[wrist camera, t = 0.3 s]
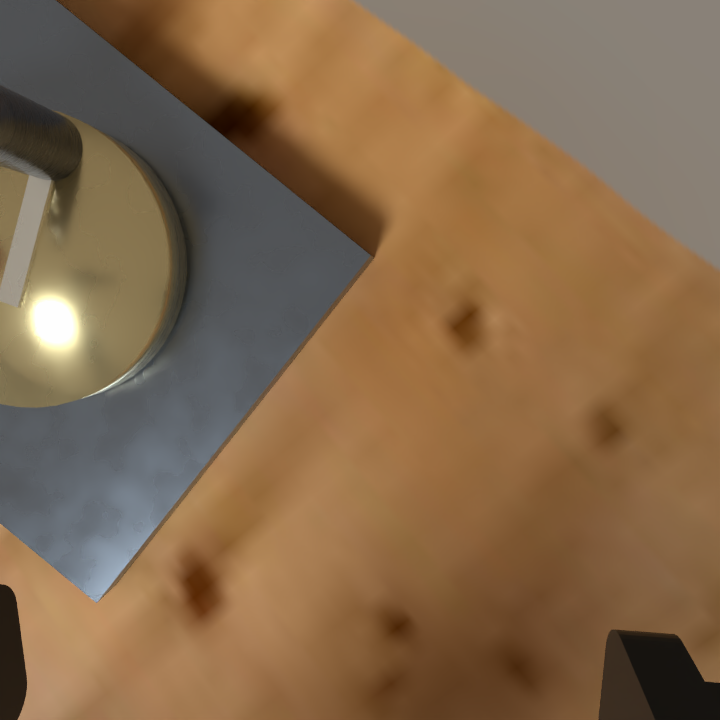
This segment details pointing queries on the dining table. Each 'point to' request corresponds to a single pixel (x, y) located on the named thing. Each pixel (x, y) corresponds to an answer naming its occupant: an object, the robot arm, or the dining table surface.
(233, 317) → the plate
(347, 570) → the dining table surface
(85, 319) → the post on brass disc
